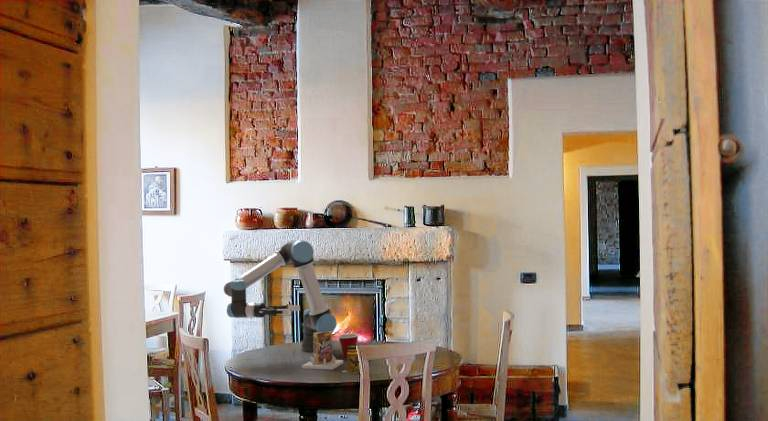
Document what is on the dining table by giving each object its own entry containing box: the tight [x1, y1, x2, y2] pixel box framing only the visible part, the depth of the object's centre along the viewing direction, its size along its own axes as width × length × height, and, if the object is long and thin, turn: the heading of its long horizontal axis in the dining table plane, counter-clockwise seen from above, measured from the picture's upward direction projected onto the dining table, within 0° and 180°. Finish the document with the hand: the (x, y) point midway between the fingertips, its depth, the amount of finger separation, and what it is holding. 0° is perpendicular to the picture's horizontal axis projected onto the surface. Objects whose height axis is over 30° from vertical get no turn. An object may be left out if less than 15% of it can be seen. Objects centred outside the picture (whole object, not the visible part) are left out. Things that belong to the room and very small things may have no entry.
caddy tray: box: [301, 354, 344, 370], centre depth 322 cm, size 16×16×4 cm
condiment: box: [341, 345, 361, 374], centre depth 307 cm, size 7×8×12 cm
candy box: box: [312, 331, 333, 364], centre depth 322 cm, size 9×4×15 cm, turn 125°
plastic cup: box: [337, 333, 359, 359], centre depth 342 cm, size 11×11×12 cm
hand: (294, 309), depth 327 cm, fingers open, 13 cm apart
